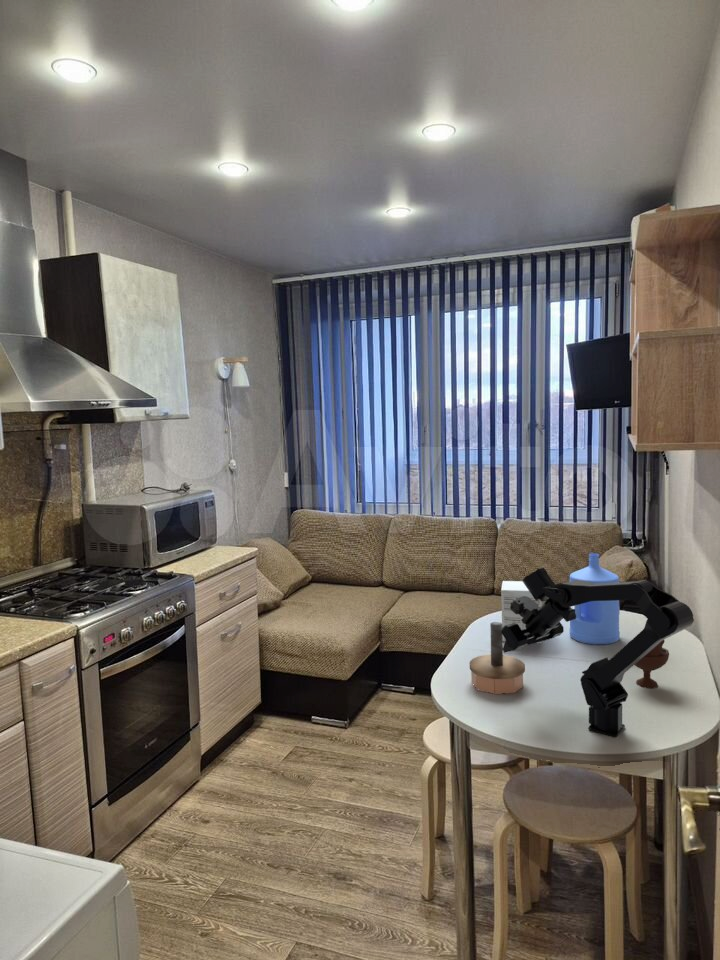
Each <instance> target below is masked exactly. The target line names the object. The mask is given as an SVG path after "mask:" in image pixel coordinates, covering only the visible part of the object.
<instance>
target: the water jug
mask: <svg viewBox="0 0 720 960" xmlns="http://www.w3.org/2000/svg"><path fill="white" fill-rule="evenodd" d="M588 556H589V558H588V561H589V562H588V566H585V567H583V568H581V569H579V570H576V571H573V572H572V573H570V574H569V581H568V582H570V581H574V580H582V581H589V582H591V583H595V584H602V583H619V582H620V576H618V575H617V574H616V573H613V572H611V571H610V570H607V569H605V568H603V567H601V566H600V559H599V557H600V554H599V553H588ZM573 607H574V608H573V609H575V614H576V619H574V620H571V621H569V636H570V638H572V639H573V640H575V641H577V642H581V643H584V644H587V645H596V646H597V645H600V646H602V645H609V644H614V643H616V642H618V641H619V639H620V612H621V611H620V609H621V607H620V600H615V601H590V602H587V603H583V604H579V605H575V606H573Z"/></svg>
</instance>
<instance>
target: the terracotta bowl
mask: <svg viewBox="0 0 720 960" xmlns="http://www.w3.org/2000/svg"><path fill="white" fill-rule="evenodd" d="M470 672H471V673H470V675H471V683H472V685H473V684H474V685H473V686H474V688H475V687H476V688H475V690H477V689H479V690H478V691H480V690H482V691H481V692H484V691H486V692H485V693H488V692H490V693H489V694H492V693H493V694H492V695H503V694H502V693H506V694H515V693H517V692H518V691H519V690H520V689H522V688H523V687H524V673H523V674H522V675H520V676H518V677H514V678H509V679H493V678H486V677H482V676H479V675H476V674H474V673H473V672H472V671H471V670H470Z"/></svg>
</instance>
